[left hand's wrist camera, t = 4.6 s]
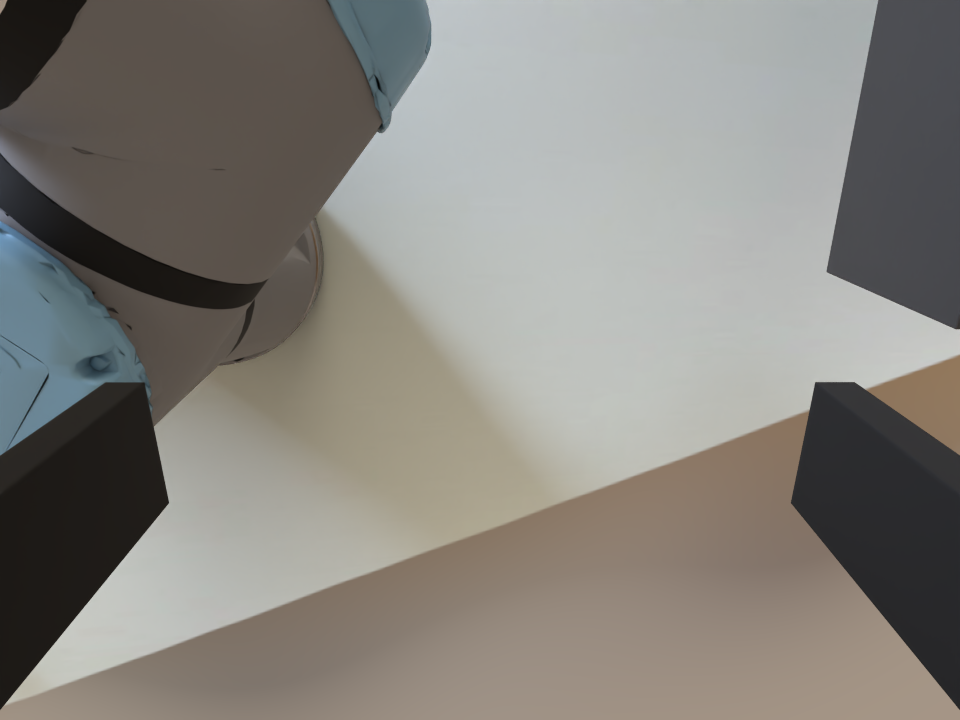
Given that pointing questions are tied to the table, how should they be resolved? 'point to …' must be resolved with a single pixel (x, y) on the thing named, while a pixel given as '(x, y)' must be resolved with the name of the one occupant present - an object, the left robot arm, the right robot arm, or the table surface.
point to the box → (906, 164)
